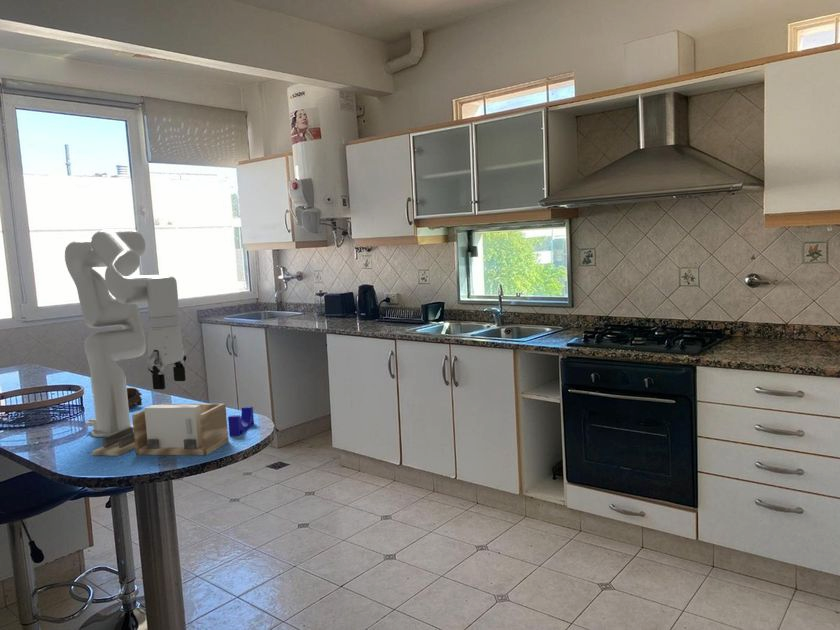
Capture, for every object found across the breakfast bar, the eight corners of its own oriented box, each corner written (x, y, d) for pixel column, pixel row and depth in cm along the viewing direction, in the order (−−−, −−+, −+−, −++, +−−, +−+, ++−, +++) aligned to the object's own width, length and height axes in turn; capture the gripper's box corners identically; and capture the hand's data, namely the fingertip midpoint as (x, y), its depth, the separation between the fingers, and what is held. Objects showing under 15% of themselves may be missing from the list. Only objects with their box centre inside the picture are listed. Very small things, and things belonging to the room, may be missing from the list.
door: (146, 448, 172) (142, 408, 171) (154, 444, 176) (150, 405, 175) (196, 448, 169) (193, 408, 168) (204, 444, 173) (200, 404, 172)
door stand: (92, 455, 174) (91, 442, 173) (134, 436, 191) (132, 424, 191) (118, 455, 172) (117, 442, 172) (158, 436, 190) (156, 424, 189)
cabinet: (136, 454, 172) (132, 414, 171) (161, 441, 184) (158, 404, 183) (206, 455, 168) (203, 414, 167) (228, 441, 180) (225, 403, 179)
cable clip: (240, 425, 197) (238, 406, 197) (254, 425, 197) (252, 406, 196) (224, 437, 185) (223, 417, 185) (239, 436, 185) (237, 416, 184)
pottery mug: (150, 404, 234) (146, 387, 229) (135, 422, 226) (130, 404, 222) (121, 398, 236) (116, 381, 231) (105, 415, 228) (100, 398, 224)
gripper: (170, 318, 179) (175, 378, 181) (131, 326, 162) (137, 392, 164) (194, 318, 177) (199, 378, 179) (158, 326, 161) (163, 392, 163)
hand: (169, 384), depth 172 cm, fingers open, 9 cm apart
